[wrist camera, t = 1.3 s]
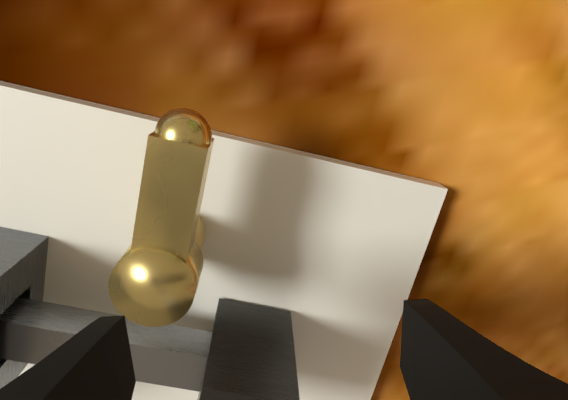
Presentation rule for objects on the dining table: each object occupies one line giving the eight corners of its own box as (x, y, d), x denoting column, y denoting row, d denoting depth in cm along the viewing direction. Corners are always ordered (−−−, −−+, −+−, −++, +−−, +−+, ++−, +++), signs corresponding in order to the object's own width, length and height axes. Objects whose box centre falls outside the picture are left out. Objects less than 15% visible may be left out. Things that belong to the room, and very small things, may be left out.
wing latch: (234, 115, 15) (229, 124, 13) (196, 299, 17) (186, 333, 15) (152, 95, 15) (133, 101, 13) (123, 286, 17) (103, 318, 15)
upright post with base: (290, 311, 21) (300, 403, 15) (274, 370, 22) (277, 477, 16) (-73, 242, 19) (-210, 318, 13) (-73, 310, 20) (-202, 406, 14)
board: (439, 183, 20) (477, 210, 17) (343, 449, 25) (356, 515, 21) (-68, 64, 18) (-152, 66, 14) (-70, 383, 23) (-134, 446, 19)
